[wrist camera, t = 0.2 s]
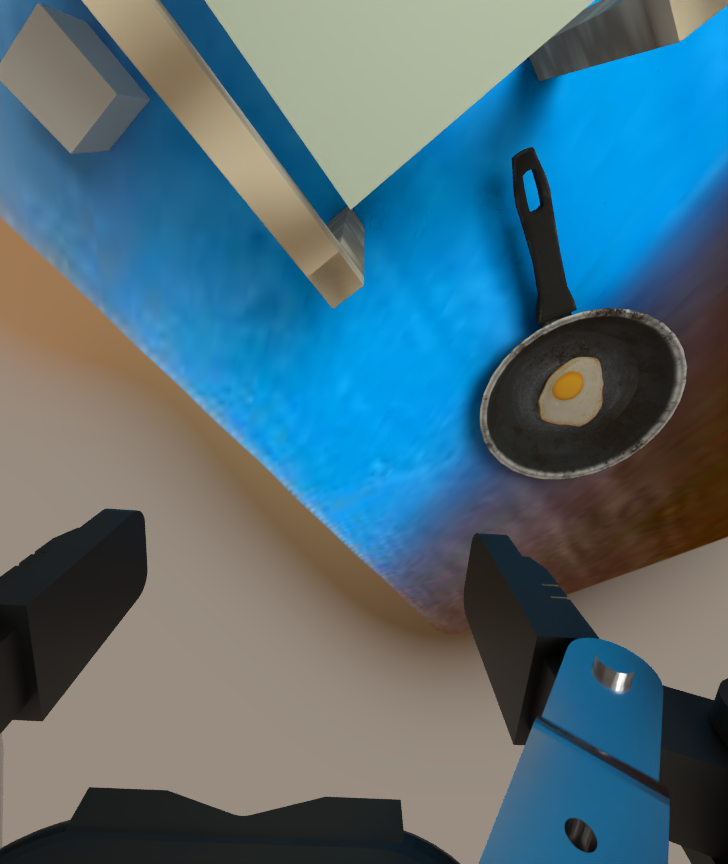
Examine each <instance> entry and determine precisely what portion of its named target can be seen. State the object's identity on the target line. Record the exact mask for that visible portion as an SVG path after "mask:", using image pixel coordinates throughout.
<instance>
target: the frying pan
mask: <svg viewBox="0 0 728 864" xmlns="http://www.w3.org/2000/svg"><path fill="white" fill-rule="evenodd" d="M512 169H513V189H514V198H515V204H516V208H517V211H518V214H519V217H520V221H521V224H522V227H523V231H524V234H525V237H526V241H527V244H528V248H529V251H530V255H531V258H532V262H533V268H534V274H535V280H536V286H537V292H538V298H537V305H536V322H537V323H538V324H539V325H541V324H542V328H541V329H539V330H538V331H536V332H535V333H533V334H532V335H531V336H529V337H528V338H527V339H525V340H524V341H522V342H521V343H520V344H518V345H517V346H516V347H515V348H514V349H513V350H512V351H511V352H510V353H509V354H508V355H507V356H506V357H505V358H504V359H503V361H502V362H501V364H500V365H499V366H498V368H497V369H496V371H495V372H494V374H493V375H492V376H491V379H490V381H489V383H488V385H487V387H486V389H485V392H484V394H483V398H482V403H481V407H480V429H481V432H482V436H483V440H484V442H485V444H486V445H487V447H488V449H489V451H490V452H491V454H492V455H493V456H494V457H495V458H496V459H497V460H498V461H499V462H500V463H502V464H503V465H505V466H506V467H508V468H509V469H511V470H512V471H515V472H517V473H520V474H523V475H525V476H529V477H534V478H539V479H556V480H560V479H569V478H577V477H581V476H585V475H589V474H593V473H596V472H599V471H601V470H604V469H606V468H609V467H612V466H614V465H615V464H617V463H619V462H621V461H623V460H625V459H627V458H628V457H630V456H631V455H633V454H634V453H636V452H637V451H638V450H640V449H641V448H643V447H644V446H645V445H646V444H647V443H648V442H650V441H651V440H652V439H653V438H654V437H655V436H656V435H657V434H658V433H659V432H660V431H661V430H662V428H663V427H664V426H665V424H666V423H667V422H668V421H669V419H670V418H671V417H672V415H673V413H674V411H675V409H676V407H677V406H678V404H679V402H680V400H681V397H682V393H683V390H684V387H685V384H686V371H687V365H686V360H685V355H684V350H683V348H682V346H681V344H680V342H679V340H678V339H677V337H676V335H675V334H674V333H673V332H672V331H671V330H670V329H669V328H668V327H667V326H666V325H665V324H664V323H662V322H660V321H658V320H657V319H655V318H653V317H651V316H649V315H647V314H644V313H640V312H636V311H632V310H629V309H609V308H604V309H598V310H591V311H584V312H580V313H577V314H574V315H572V314H571V312H572V311H575V310H576V305H575V302H574V299H573V297H572V295H571V293H570V291H569V289H568V287H567V283H566V278H565V273H564V268H563V264H562V259H561V254H560V248H559V242H558V236H557V230H556V224H555V218H554V212H553V206H552V199H551V192H550V187H549V184H548V181H547V178H546V175H545V173H544V171H543V168H542V166H541V164H540V162H539V160H538V157H537V155H536V152H535V150H534V148H533V147H531V148H527V149H524V150H522V151H520V152H519V153H517V154H516V155H515V156H514V157H513V158H512ZM531 169H532V172H533V176H534V179H535V182H536V186H537V190H538V195H539V200H540V206H539V207H538V208H537V209H536V210H534V211H532V212H530V211H529V208H528V204H527V199H526V194H525V189H524V183H523V175H524V174H525V173H526V172H527V171H529V170H531Z"/></svg>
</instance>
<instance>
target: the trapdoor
mask: <svg viewBox="0 0 728 864" xmlns="http://www.w3.org/2000/svg"><path fill="white" fill-rule="evenodd" d="M593 1H594V0H205V2H206V3H207V5H208V6H209V7H210V9H211V10H212V12H213V13H214V15H215V16H216V17H217V19H218V20H219V22H220V23H221V25H222V26H223V27H224V29H225V30H226V32H227V33H228V35H229V36H230V38H231V39H232V40H233V42H234V43H235V45H236V46H237V48H238V49H239V50H240V52H241V53H242V55H243V56H244V58H245V59H246V61H247V62H248V63H249V65H250V66H251V68H252V69H253V71H254V72H255V73H256V75H257V76H258V78H259V79H260V81H261V82H262V83H263V85H264V86H265V88H266V89H267V91H268V92H269V94H270V95H271V96H272V98H273V99H274V101H275V102H276V104H277V105H278V106H279V108H280V109H281V111H282V112H283V114H284V115H285V117H286V118H287V119H288V121H289V122H290V124H291V125H292V127H293V128H294V129H295V131H296V132H297V134H298V135H299V137H300V138H301V139H302V141H303V142H304V144H305V145H306V147H307V148H308V150H309V151H310V152H311V154H312V155H313V157H314V158H315V160H316V161H317V162H318V164H319V165H320V167H321V168H322V170H323V171H324V172H325V174H326V175H327V177H328V178H329V180H330V181H331V183H332V184H333V185H334V187H335V188H336V190H337V191H338V193H339V194H340V195H341V197H342V198H343V200H344V201H345V203H346V204H347V206H348V207H349V208H350V210H351V209H352V208H353V207H355V206H356V205H357V204H358V203H359V202H360V201H362V200H363V199H364V198H365V197H366V196H367V195H369V194H370V193H371V192H372V191H373V190H374V189H376V188H377V187H378V186H379V185H380V184H381V183H383V182H384V181H385V180H386V179H387V178H388V177H390V176H391V175H392V174H393V173H394V172H395V171H396V170H398V169H399V168H400V167H401V166H402V165H403V164H405V163H406V162H407V161H408V160H409V159H410V158H412V157H413V156H414V155H415V154H416V153H417V152H419V151H420V150H421V149H422V148H423V147H424V146H426V145H427V144H428V143H429V142H430V141H431V140H433V139H434V138H435V137H436V136H437V135H438V134H440V133H441V132H442V131H443V130H444V129H445V128H447V127H448V126H449V125H450V124H451V123H452V122H453V121H455V120H456V119H457V118H458V117H459V116H460V115H462V114H463V113H464V112H465V111H466V110H467V109H469V108H470V107H471V106H472V105H473V104H474V103H476V102H477V101H478V100H479V99H480V98H481V97H483V96H484V95H485V94H486V93H487V92H488V91H490V90H491V89H492V88H493V87H494V86H495V85H497V84H498V83H499V82H500V81H501V80H502V79H504V78H505V77H506V76H507V75H508V74H509V73H510V72H512V71H513V70H514V69H515V68H516V67H517V66H519V65H520V64H521V63H522V62H523V61H524V60H526V59H527V58H528V57H529V56H530V55H531V54H533V53H534V52H535V51H536V50H537V49H538V48H540V47H541V46H542V45H543V44H544V43H545V42H547V41H548V40H549V39H550V38H551V37H552V36H554V35H555V34H556V33H557V32H558V31H559V30H561V29H562V28H563V27H564V26H565V25H566V24H568V23H569V22H570V21H571V20H572V19H573V18H574V17H576V16H577V15H578V14H579V13H580V12H581V11H583V10H584V9H585V8H586V7H587V6H588V5H590V4H591V3H592V2H593Z"/></svg>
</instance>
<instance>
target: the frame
mask: <svg viewBox="0 0 728 864" xmlns="http://www.w3.org/2000/svg"><path fill="white" fill-rule="evenodd" d="M82 1H83V3H84V4H85V5H86V6H87V8H88V9H89V10H90V11H91V13H92V14H93V15H94V16H95V17H96V19H97V20H98V21H99V22H100V24H101V25H102V26H103V27H104V28H105V30H106V31H107V32H108V33H109V35H110V36H111V37H112V38H113V40H114V41H115V42H116V43H117V44H118V46H119V47H120V48H121V49H122V51H123V52H124V53H125V54H126V55H127V57H128V58H129V59H130V60H131V62H132V63H133V64H134V65H135V67H136V68H137V69H138V70H139V71H140V73H141V74H142V75H143V76H144V78H145V79H146V80H147V81H148V82H149V84H150V85H151V86H152V87H153V89H154V90H155V91H156V92H157V94H158V95H159V96H160V97H161V98H162V100H163V101H164V102H165V103H166V105H167V106H168V107H169V108H170V109H171V111H172V112H173V113H174V114H175V116H176V117H177V118H178V119H179V121H180V122H181V123H182V124H183V125H184V127H185V128H186V129H187V130H188V132H189V133H190V134H191V135H192V136H193V138H194V139H195V140H196V141H197V143H198V144H199V145H200V146H201V148H202V149H203V150H204V151H205V152H206V154H207V155H208V156H209V157H210V159H211V160H212V161H213V162H214V163H215V165H216V166H217V167H218V168H219V170H220V171H221V172H222V173H223V175H224V176H225V177H226V178H227V179H228V181H229V182H230V183H231V184H232V186H233V187H234V188H235V189H236V190H237V192H238V193H239V194H240V195H241V197H242V198H243V199H244V200H245V202H246V203H247V204H248V205H249V206H250V208H251V209H252V210H253V211H254V213H255V214H256V215H257V216H258V218H259V219H260V220H261V221H262V222H263V224H264V225H265V226H266V227H267V229H268V230H269V231H270V232H271V233H272V235H273V236H274V237H275V238H276V240H277V241H278V242H279V243H280V245H281V246H282V247H283V248H284V249H285V251H286V252H287V253H288V254H289V256H290V257H291V258H292V259H293V260H294V262H295V263H296V264H297V265H298V267H299V268H300V269H301V270H302V272H303V273H304V274H305V275H306V276H307V278H308V279H309V280H310V281H311V283H312V284H313V285H314V286H315V287H316V289H317V290H318V291H319V292H320V294H321V295H322V296H323V297H324V299H325V300H326V301H327V302H328V303H329V305H330V306H331V307H332V308H333V309H334V308H335V307H336V306H338V305H339V304H340V303H341V302H343V301H344V300H345V299H347V298H348V297H349V296H351V295H352V294H353V293H354V292H356V291H357V290H358V289H360V288H361V287H362V286H364V225H363V224H362V222H361V221H360V220H359V218H358V217H357V215H356V214H355V212H354V211H353V209H351V210H350V208H349V207H348V206H346V207H345V208H344V209H343V210H342V211H341V212H340V213H338V214H337V215H336V216H335V217H334V218H333V219H331V220H330V221H329V223H328V226H326V224H325V223H324V222H323V220H322V219H321V218H320V216H319V215H318V214H317V212H316V211H315V210H314V208H313V207H312V205H311V204H310V203H309V201H308V200H307V199H306V197H305V196H304V195H303V193H302V192H301V191H300V189H299V188H298V187H297V185H296V184H295V183H294V181H293V180H292V178H291V177H290V176H289V174H288V173H287V172H286V170H285V169H284V168H283V166H282V165H281V164H280V162H279V161H278V160H277V158H276V157H275V155H274V154H273V153H272V151H271V150H270V149H269V147H268V146H267V145H266V143H265V142H264V141H263V139H262V138H261V137H260V135H259V134H258V132H257V131H256V130H255V128H254V127H253V126H252V124H251V123H250V122H249V120H248V119H247V118H246V116H245V115H244V114H243V112H242V111H241V109H240V108H239V107H238V105H237V104H236V103H235V101H234V100H233V99H232V97H231V96H230V95H229V93H228V92H227V91H226V89H225V88H224V86H223V85H222V84H221V82H220V81H219V80H218V78H217V77H216V76H215V74H214V73H213V72H212V70H211V69H210V68H209V66H208V65H207V64H206V62H205V61H204V59H203V58H202V57H201V55H200V54H199V53H198V51H197V50H196V49H195V47H194V46H193V45H192V43H191V42H190V41H189V39H188V38H187V36H186V35H185V34H184V32H183V31H182V30H181V28H180V27H179V26H178V24H177V23H176V22H175V20H174V19H173V18H172V16H171V15H170V13H169V12H168V11H167V9H166V8H165V7H164V5H163V4H162V3H161V1H160V0H82ZM727 5H728V0H601V1H599V2H597V3H595V4H593V5H591V6H590V7H588V8H586V9H584V10H583V11H581V12H580V13H579V14H578V15H577V16H576V17H574V18H573V19H572V20H571V21H570V22H569V23H568V24H566V25H565V26H564V27H563V28H562V29H561V30H559V31H558V32H557V33H556V34H555V35H554V36H552V37H551V38H550V39H549V40H548V41H547V42H545V43H544V44H543V45H542V46H541V47H540V48H538V49H537V50H536V51H535V52H534V53H533V54H531V55H530V56H529V58H530V60H531V63H532V65H533V68H534V70H535V73H536V75H537V77H538V80H539V81H542V80H546V79H549V78H553V77H557V76H560V75H564V74H567V73H571V72H574V71H578V70H581V69H585V68H589V67H592V66H596V65H599V64H603V63H606V62H610V61H613V60H617V59H621V58H624V57H628V56H631V55H635V54H638V53H642V52H645V51H649V50H653V49H656V48H660V47H663V46H667V45H670V44H674V43H677V42H680V41H682V40H683V39H684V38H685V37H687V36H688V35H689V34H691V33H692V32H693V31H694V30H696V29H697V28H698V27H700V26H701V25H702V24H704V23H705V22H706V21H707V20H709V19H710V18H711V17H713V16H714V15H715V14H717V13H718V12H719V11H720V10H722V9H723V8H724V7H726V6H727Z"/></svg>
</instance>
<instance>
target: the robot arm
mask: <svg viewBox="0 0 728 864" xmlns="http://www.w3.org/2000/svg"><path fill="white" fill-rule="evenodd" d="M146 578H147V553H146V536H145V520H144V516H143V514H142V513H141V512H140V511H135V510H120V509H119V510H118V509H104V510H102V511H101V512H100V513H98V514H97V515H96V516H95V517H93V518H92V519H91V520H89V521H88V522H87V523H85V524H84V525H83V526H81V527H80V528H76V529H74V530H72V531H69V532H67V533H65V534H62V535H60V536H58V537H55V538H53V539H52V540H51V541H49V542H48V543H46V544H45V545H44V546H42V547H41V548H39V549H38V550H37V551H35V554H34V555H33V554H31V555H30V556H28V557H27V558H26V559H25V560H23V561H21V562H20V563H19V566H15V567H13V568H12V569H10V570H9V571H8V572H6V573H5V574H4V575H2V576H1V577H0V864H460V863H459V862H458V861H456V860H455V859H454V858H453V857H452V856H450V855H449V854H448V853H446V852H444V851H443V850H442V849H440V848H439V847H437V846H436V845H434V844H432V843H430V842H429V841H427V840H424V839H423V838H421V837H419V836H417V835H415V834H412V833H409V832H406V831H404V830H403V821H402V810H401V800H392V799H366V798H342V797H341V798H340V797H323V798H319V799H315V800H311V801H307V802H303V803H299V804H294V805H291V806H287V807H283V808H278V809H274V810H270V811H266V812H262V813H258V814H254V815H249V816H237V815H233V814H231V813H228V812H225V811H222V810H220V809H217V808H214V807H211V806H209V805H206V804H203V803H200V802H197V801H195V800H192V799H189V798H186V797H183V796H181V795H178V794H175V793H173V792H169V791H165V790H142V789H116V788H91V787H90V788H89V789H88V790H87V792H86V794H85V796H84V797H83V799H82V801H81V803H80V805H79V806H78V808H77V810H76V811H75V813H74V815H73V817H72V818H71V820H68V821H64V822H61V823H58V824H55V825H52V826H49V827H46V828H43V829H40V830H38V831H36V832H33V833H31V834H29V835H27V836H24V837H22V838H20V839H18V840H16V841H14V842H12V843H10V844H8V845H6V846H4V847H3V848H2V802H3V798H2V797H3V741H2V735H1V732H2V731H3V730H4V729H5V728H6V727H7V725H8V724H9V723H10V722H11V721H12V720H27V721H43V720H44V719H45V717H46V716H47V715H48V713H49V712H50V711H51V710H52V708H53V707H54V706H55V705H56V703H57V702H58V701H59V699H60V698H61V697H62V695H63V694H64V693H65V692H66V690H67V689H68V688H69V687H70V685H71V684H72V683H73V681H74V680H75V679H76V678H77V676H78V675H79V673H80V672H81V671H82V670H83V668H84V667H85V666H86V665H87V663H88V662H89V661H90V659H91V658H92V657H93V655H94V654H95V653H96V652H97V651H98V649H99V648H100V647H101V645H102V644H103V643H104V642H105V640H106V639H107V637H108V636H109V635H110V634H111V632H112V631H113V630H114V629H115V627H116V626H117V625H118V624H119V622H120V621H121V620H122V618H123V617H124V616H125V614H126V613H127V612H128V611H129V609H130V608H131V607H132V606H133V604H134V603H135V602H136V600H137V599H138V598H139V596H140V595H141V593H142V591H143V589H144V586H145V582H146ZM464 609H465V614H466V617H467V620H468V623H469V626H470V628H471V631H472V634H473V636H474V639H475V642H476V644H477V647H478V650H479V652H480V655H481V658H482V661H483V663H484V666H485V669H486V671H487V674H488V677H489V679H490V682H491V685H492V688H493V690H494V693H495V695H496V698H497V701H498V703H499V707H500V709H501V712H502V715H503V717H504V720H505V723H506V725H507V728H508V731H509V733H510V736H511V739H512V741H513V744H514V745H525V747H524V749H523V752H522V754H521V757H520V759H519V762H518V764H517V767H516V770H515V772H514V775H513V777H512V780H511V783H510V785H509V788H508V790H507V793H506V795H505V798H504V800H503V803H502V805H501V808H500V810H499V814H498V816H497V818H496V821H495V823H494V826H493V828H492V831H491V833H490V836H489V839H488V841H487V844H486V846H485V849H484V851H483V854H482V857H481V859H480V862H479V864H668V846H669V844H668V843H669V841H671V842H673V843H676V844H679V845H681V846H682V848H683V849H684V851H685V853H686V855H687V856H688V858H689V860H690V862H691V864H728V679H725V680H723V681H722V682H721V684H720V686H719V689H718V691H717V695H716V697H715V700H711V699H707V698H704V697H701V696H697V695H693V694H690V693H686V692H683V691H680V690H676V689H673V688H669V687H666V686H663V685H662V683H661V680H660V679H659V677H658V675H657V674H656V672H655V671H654V670H653V669H652V668H651V667H650V666H649V665H648V664H647V663H646V662H645V661H644V660H642V659H641V658H640V657H638V656H637V655H635V654H634V653H632V652H630V651H629V650H627V649H626V648H624V647H621V646H619V645H617V644H614V643H612V642H609V641H605V640H602V639H599V637H598V636H597V635H596V633H595V632H594V631H593V629H592V628H591V627H590V626H589V624H588V623H587V622H586V620H585V619H584V618H583V616H582V615H581V614H580V612H579V611H578V610H577V608H576V607H575V606H574V604H573V603H572V602H571V601H570V600H568V599H567V595H566V594H565V593H564V591H563V590H562V589H561V587H558V583H557V582H556V581H555V580H554V578H553V577H552V576H551V574H550V573H549V572H548V570H547V569H545V568H544V567H543V566H541V565H540V564H538V563H537V562H536V561H534V560H533V559H531V558H530V557H522V555H521V554H520V552H519V551H518V550H517V548H516V547H515V545H514V544H513V542H512V541H511V540H510V538H509V537H508V536H507V535H496V534H480V533H476V534H475V535H474V537H473V539H472V543H471V549H470V556H469V562H468V568H467V574H466V581H465V587H464Z"/></svg>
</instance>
